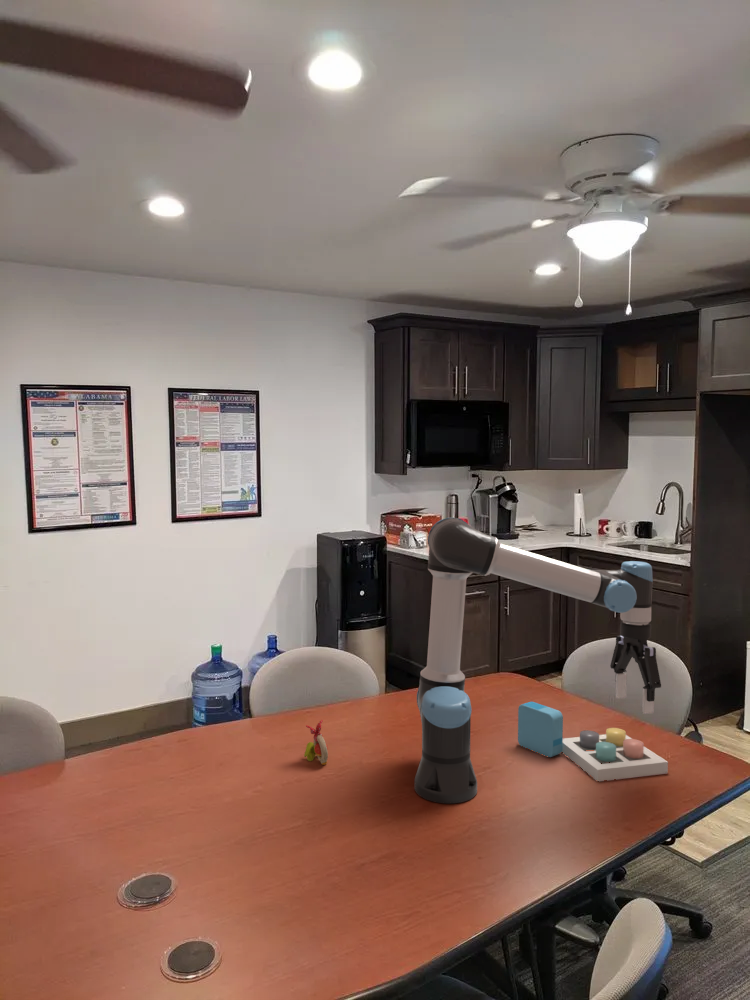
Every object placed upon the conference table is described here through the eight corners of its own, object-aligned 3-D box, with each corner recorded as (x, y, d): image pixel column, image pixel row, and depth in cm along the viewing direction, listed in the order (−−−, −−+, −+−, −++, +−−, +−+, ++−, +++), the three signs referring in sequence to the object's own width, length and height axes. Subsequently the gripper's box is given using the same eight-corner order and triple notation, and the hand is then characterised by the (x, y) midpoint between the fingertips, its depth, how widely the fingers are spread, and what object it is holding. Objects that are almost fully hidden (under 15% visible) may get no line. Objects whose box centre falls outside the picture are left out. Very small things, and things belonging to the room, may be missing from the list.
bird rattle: (334, 769, 187) (320, 745, 194) (342, 737, 183) (327, 713, 190) (313, 775, 184) (299, 750, 191) (320, 742, 180) (306, 718, 187)
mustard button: (612, 747, 190) (613, 735, 189) (602, 740, 194) (602, 728, 194) (629, 745, 191) (629, 733, 191) (618, 738, 196) (618, 727, 196)
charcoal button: (585, 750, 188) (586, 738, 188) (576, 742, 193) (576, 731, 192) (602, 748, 189) (603, 736, 189) (592, 741, 194) (592, 729, 194)
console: (597, 781, 176) (597, 769, 176) (557, 749, 195) (558, 739, 195) (667, 773, 181) (667, 761, 181) (622, 743, 200) (622, 732, 200)
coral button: (630, 759, 182) (630, 747, 182) (619, 751, 187) (619, 739, 187) (647, 757, 183) (647, 745, 183) (635, 749, 188) (636, 738, 188)
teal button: (602, 762, 180) (602, 750, 180) (591, 754, 185) (592, 742, 185) (620, 760, 181) (620, 748, 181) (609, 752, 186) (609, 740, 186)
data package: (562, 755, 192) (563, 711, 191) (552, 759, 189) (552, 715, 188) (527, 741, 201) (528, 699, 201) (517, 745, 198) (517, 703, 198)
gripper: (678, 631, 173) (676, 719, 174) (622, 611, 195) (620, 689, 197) (651, 633, 171) (649, 722, 172) (597, 612, 194) (596, 691, 195)
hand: (633, 705), depth 184 cm, fingers open, 11 cm apart
